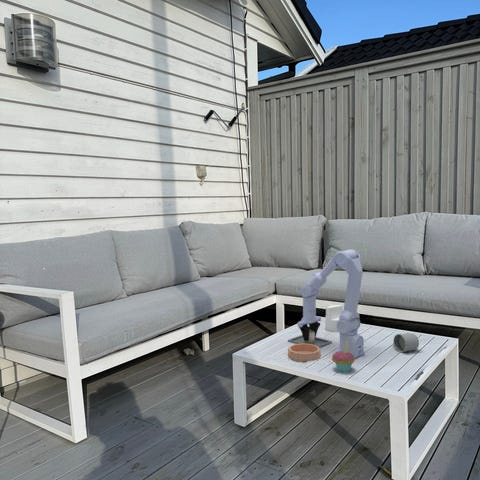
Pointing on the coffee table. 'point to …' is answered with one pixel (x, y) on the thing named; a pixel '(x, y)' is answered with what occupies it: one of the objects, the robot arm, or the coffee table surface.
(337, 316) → the grey white cylinder
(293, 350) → the terracotta bowl
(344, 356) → the cupcake
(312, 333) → the smooth grey cylinder
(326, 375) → the coffee table surface
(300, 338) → the parts tray
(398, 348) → the ceramic mug
